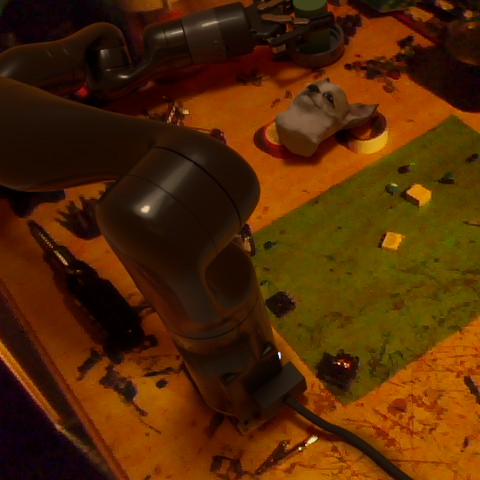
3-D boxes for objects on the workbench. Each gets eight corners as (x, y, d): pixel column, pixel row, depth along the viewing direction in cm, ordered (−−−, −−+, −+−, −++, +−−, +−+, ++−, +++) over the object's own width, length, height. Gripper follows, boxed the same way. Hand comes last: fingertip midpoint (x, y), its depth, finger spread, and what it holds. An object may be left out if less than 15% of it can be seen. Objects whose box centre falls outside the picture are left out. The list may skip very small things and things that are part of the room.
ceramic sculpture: (247, 96, 87) (323, 42, 93) (255, 145, 93) (325, 91, 100) (309, 132, 82) (384, 72, 89) (312, 181, 89) (382, 122, 96)
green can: (336, 45, 104) (333, -1, 97) (311, 60, 102) (307, 14, 96) (316, 31, 106) (312, -15, 100) (291, 45, 105) (285, 0, 98)
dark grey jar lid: (356, 50, 104) (355, 36, 102) (311, 77, 101) (309, 64, 99) (319, 24, 109) (318, 11, 107) (275, 50, 106) (273, 37, 104)
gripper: (213, 27, 105) (317, 2, 107) (231, 85, 97) (344, 57, 99) (203, -15, 99) (313, -41, 101) (221, 42, 91) (341, 13, 93)
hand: (327, 7), depth 100 cm, fingers closed on green can, 5 cm apart
